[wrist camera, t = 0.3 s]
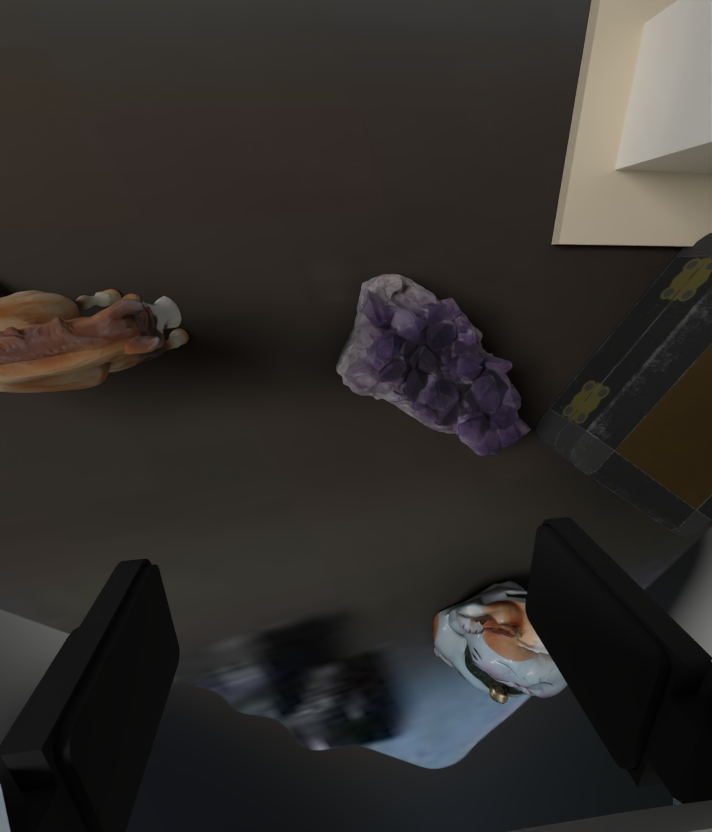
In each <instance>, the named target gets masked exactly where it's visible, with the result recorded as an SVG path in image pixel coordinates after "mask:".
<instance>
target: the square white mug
mask: <svg viewBox="0 0 712 832" xmlns="http://www.w3.org/2000/svg"><path fill="white" fill-rule="evenodd" d="M709 233H712V0H592V1H591V7H590V13H589V19H588V26H587V32H586V38H585V44H584V50H583V56H582V62H581V68H580V74H579V80H578V86H577V92H576V99H575V105H574V111H573V117H572V123H571V129H570V135H569V141H568V147H567V153H566V159H565V165H564V171H563V178H562V184H561V190H560V196H559V202H558V208H557V214H556V220H555V226H554V232H553V238H552V244H551V245H609V246H668V247H689V246H694V244H695V243H696V242H697V241H698V240H700V239H701V238H703V237H704V236H706V235H708V234H709Z"/></svg>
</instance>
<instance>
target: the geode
mask: <svg viewBox="0 0 712 832" xmlns="http://www.w3.org/2000/svg"><path fill="white" fill-rule="evenodd" d="M356 309H357V315H356V319H355V322H354V326H353V329H352V331H351V333H350V335H349V337H348V339H347V341H346V343H345V345H344V347H343V348H342V351H341V353H340V356H339V360H338V362H337V364H336V369H337V370H336V371H337V373H338V374H339V375H341V376H342V378H343V384H345V385H347V386H349V388H350V389H351V390H352V391H353V392H354V393H356V394H359V395H362V396H367V395H370V396H372V397H374V398H376V399H377V400H378V399H385V400H386V401H388V402H390V403H392V404H394V405H396V406H397V407H398V408H399V409H401V410H402V411H404V412H405V413H407V414H409V415H411V416H412V417H414V418H415V419H417V420H418V421H419V422H421V423H423V424H424V425H426V426H428V427H429V428H432V429H434V430H437V431H439V432H445V433H448V434H449V433H455V434H456V435H458V436H459V438H460V440H461V442H463V443H465V444H467V445H468V446H469V447H470V448H471V449H472V450H473V451H474V452H475V453H476V454H478V455H481V456H495V455H496V454H497V453H498V452H499V451H500V450H501V449H503V448H505V447H507V446H509V445H511V444H513V443H515V442H516V441H518V440H519V439H520V438H522V437H523V436H524V435H525V434H527V433H528V432H529V431H530V430H531V429H530V427H529V426H528V425H527V424H526V423H525V422H524V421H523V420H521V419H520V418H519V416H518V414H517V413H518V412H517V410H518V409H519V408H520V407H521V397H520V395H519V393H518V391H517V390H516V389H515V388H514V386H513V384H512V383H511V382H510V380H509V378H508V376H507V375H506V373H507V372H508V371H509V370H510V369H511V368H512V363H511V361H507V360H504V359H501V358H497V357H495V356H493V354H491V353H490V354H488V353H487V352H486V351H485V350H484V349H483V348H482V344H481V339H482V336H483V335H482V333H481V332H480V331H479V330H478V329H477V328H475V327H474V326H473V325H472V323H471V322H470V321H469V320H468V317H467V316H466V315H465V314H464V313H463V312H462V311H461V310H460V308H459V306H458V305H457V303H456V302H455V301H454V299H453V298H448V299H446V300H445V299H443V300H440V301H439V300H438V299H437V298H436V297H435V295H434V294H433V293H432V292H430V291H429V290H427V289H425V288H423V287H422V286H420V285H418V284H417V283H415V282H414V281H412V280H411V279H409V278H406V277H404V276H401V275H398V274H389V275H388V274H384V275H380V276H378V277H374V278H372V279H370V280H369V281H366V282H363V283H362V287H361V292H360V297H359V300H358V304H357V308H356Z"/></svg>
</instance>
